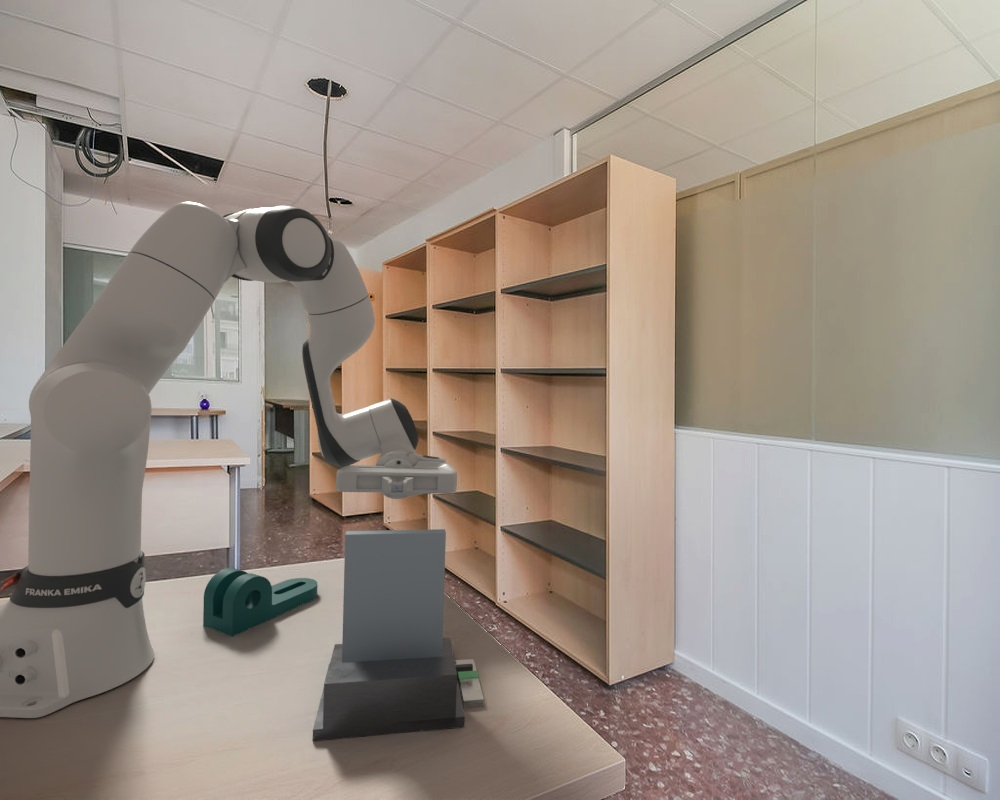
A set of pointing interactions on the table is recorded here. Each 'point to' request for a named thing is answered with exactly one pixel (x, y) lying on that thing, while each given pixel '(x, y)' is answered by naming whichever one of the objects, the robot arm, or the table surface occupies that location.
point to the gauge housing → (395, 695)
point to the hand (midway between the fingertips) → (397, 488)
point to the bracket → (250, 599)
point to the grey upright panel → (394, 595)
